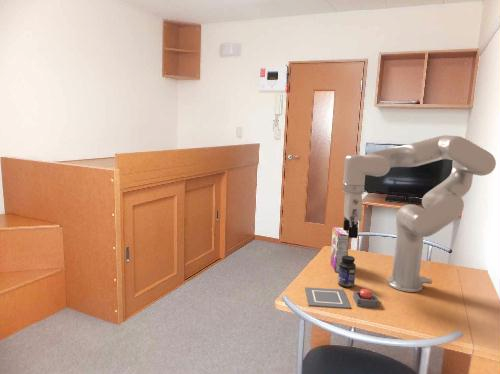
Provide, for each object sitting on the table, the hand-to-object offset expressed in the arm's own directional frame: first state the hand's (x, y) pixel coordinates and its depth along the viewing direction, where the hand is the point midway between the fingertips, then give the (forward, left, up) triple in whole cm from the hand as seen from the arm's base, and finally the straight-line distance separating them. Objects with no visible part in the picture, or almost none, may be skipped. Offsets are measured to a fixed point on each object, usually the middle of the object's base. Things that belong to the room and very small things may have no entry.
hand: (350, 233), depth 142 cm
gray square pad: (+9, +13, -20) cm, 25 cm away
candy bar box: (0, -18, -20) cm, 27 cm away
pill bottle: (0, 0, -20) cm, 20 cm away
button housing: (-4, +14, -20) cm, 25 cm away
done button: (-4, +14, -18) cm, 23 cm away
